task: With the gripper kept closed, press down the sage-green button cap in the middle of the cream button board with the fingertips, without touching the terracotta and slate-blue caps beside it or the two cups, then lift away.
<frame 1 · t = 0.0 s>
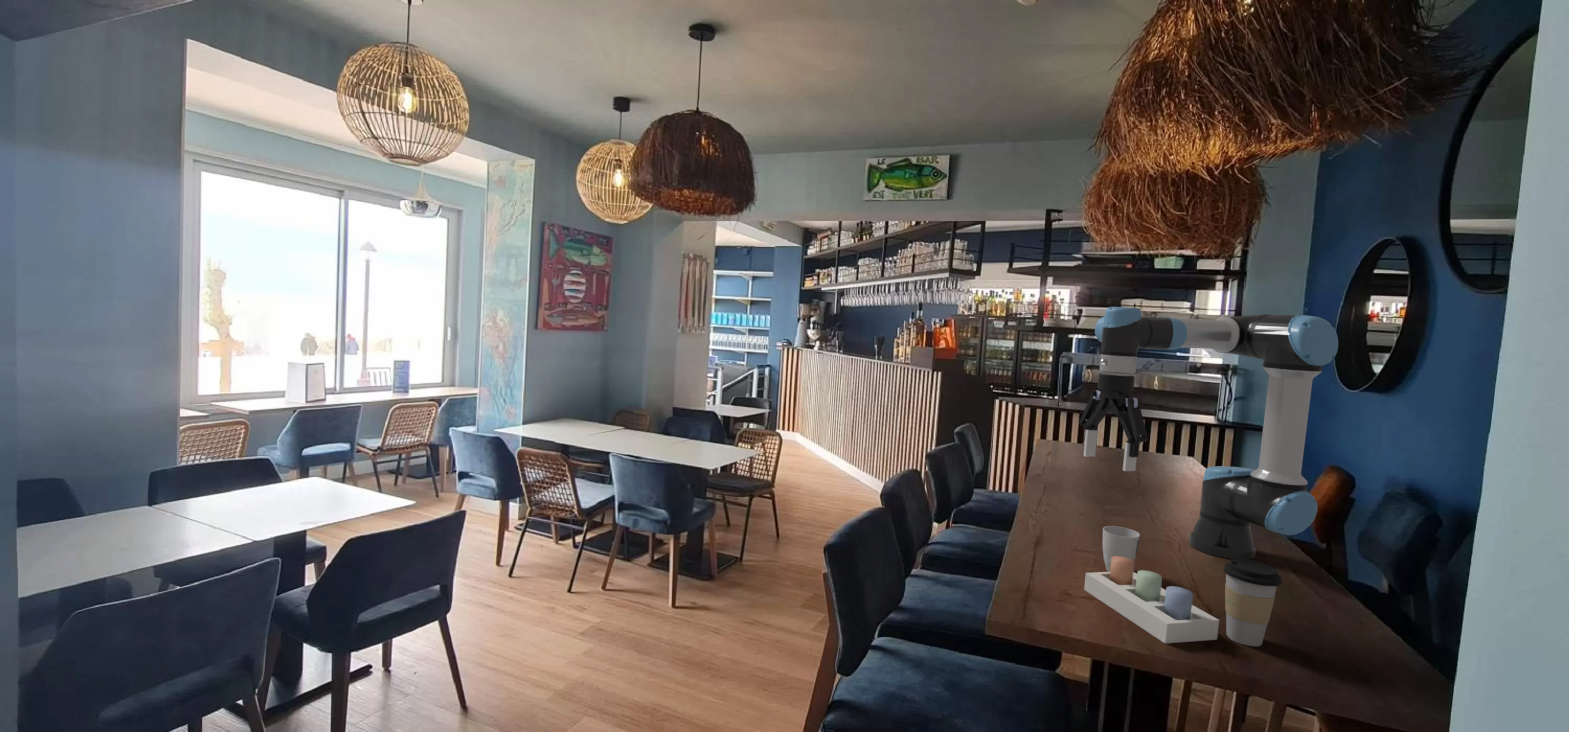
hand: (1108, 463, 156), 28 cm above the table, fingers open, 13 cm apart
slate cap: (1178, 603, 132), point 6 cm above the table, slide at 0.0 cm
coffee cup: (1244, 640, 131), on the table
cup: (1117, 571, 163), on the table
button board: (1145, 612, 141), on the table
terracotta cap: (1121, 570, 148), point 6 cm above the table, slide at 0.0 cm
sage cap: (1148, 585, 140), point 6 cm above the table, slide at 0.0 cm
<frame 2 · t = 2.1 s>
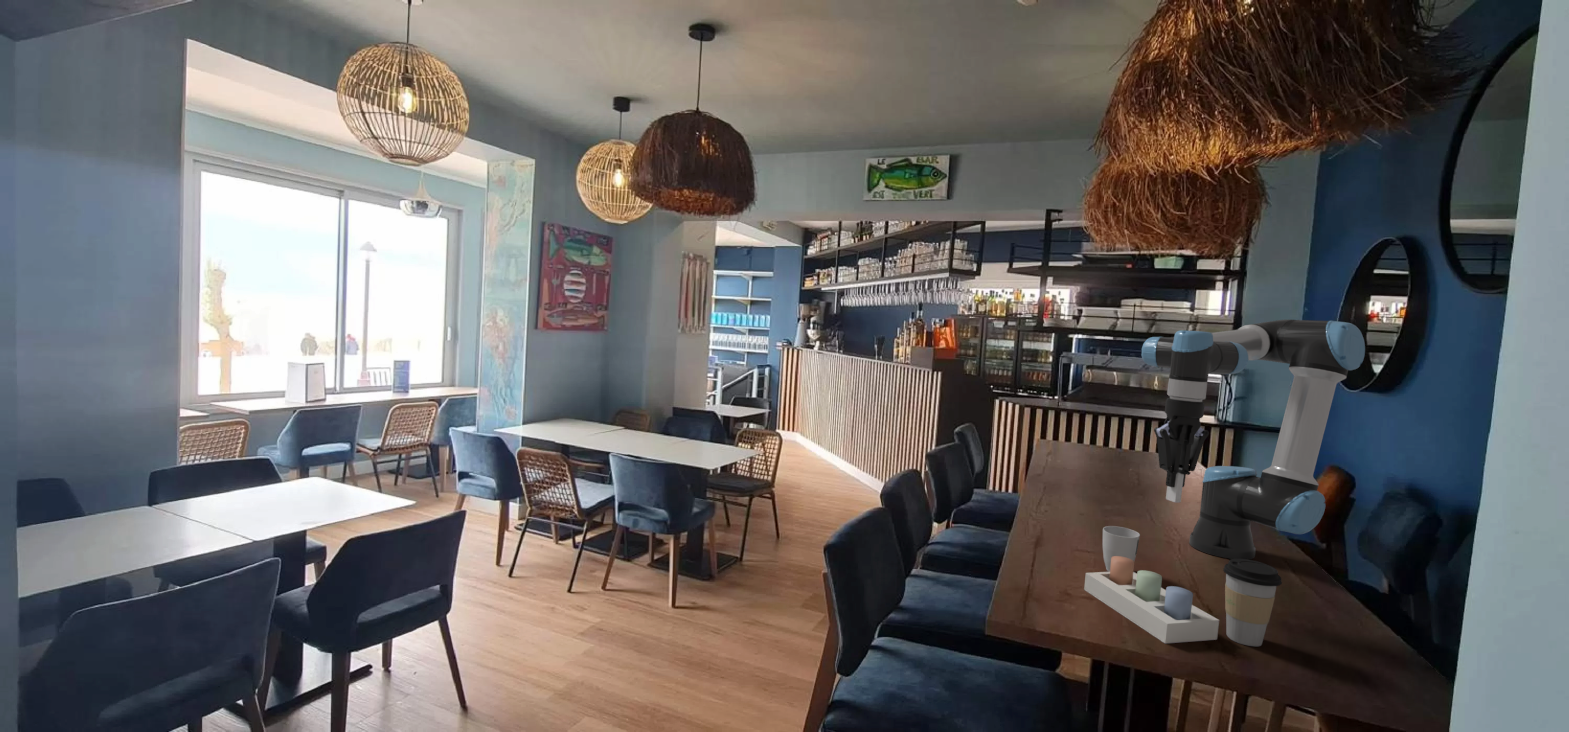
hand: (1173, 500, 151), 21 cm above the table, fingers closed
nothing on the table moved.
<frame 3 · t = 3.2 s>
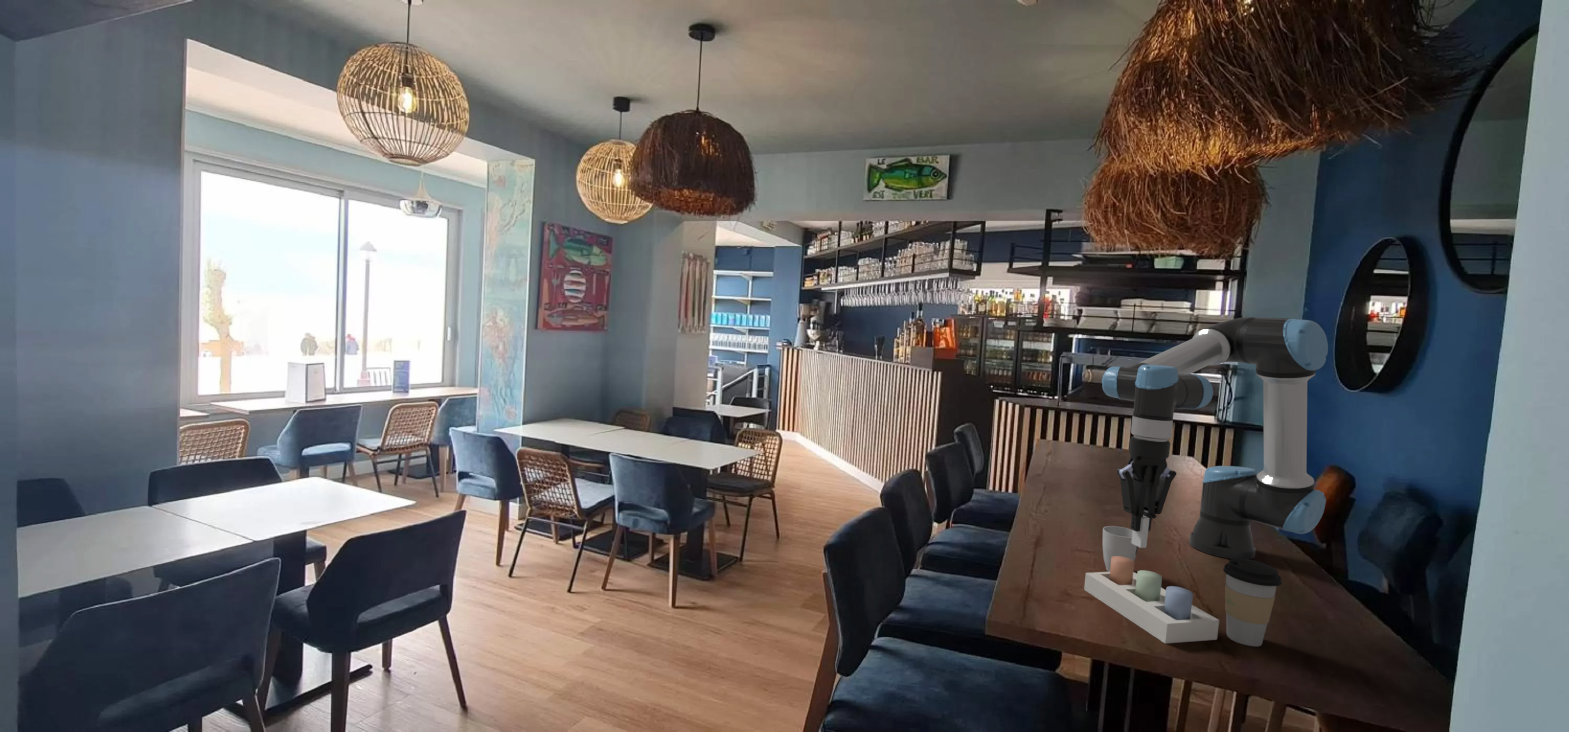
hand: (1138, 545, 142), 14 cm above the table, fingers closed
nothing on the table moved.
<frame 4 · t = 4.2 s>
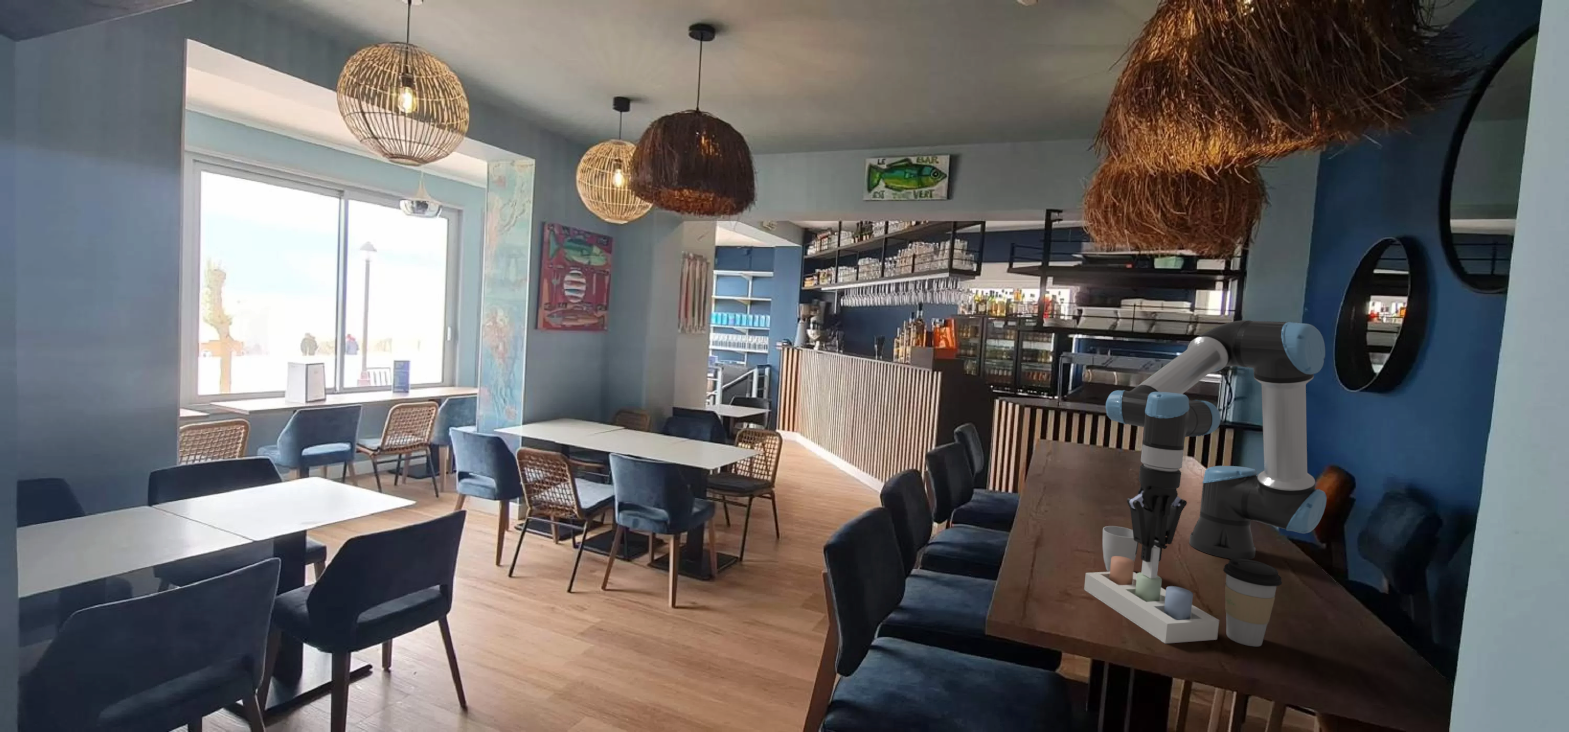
hand: (1149, 575, 140), 8 cm above the table, fingers closed
sage cap: (1148, 588, 140), point 5 cm above the table, slide at 0.5 cm, touching gripper
everything else where it was.
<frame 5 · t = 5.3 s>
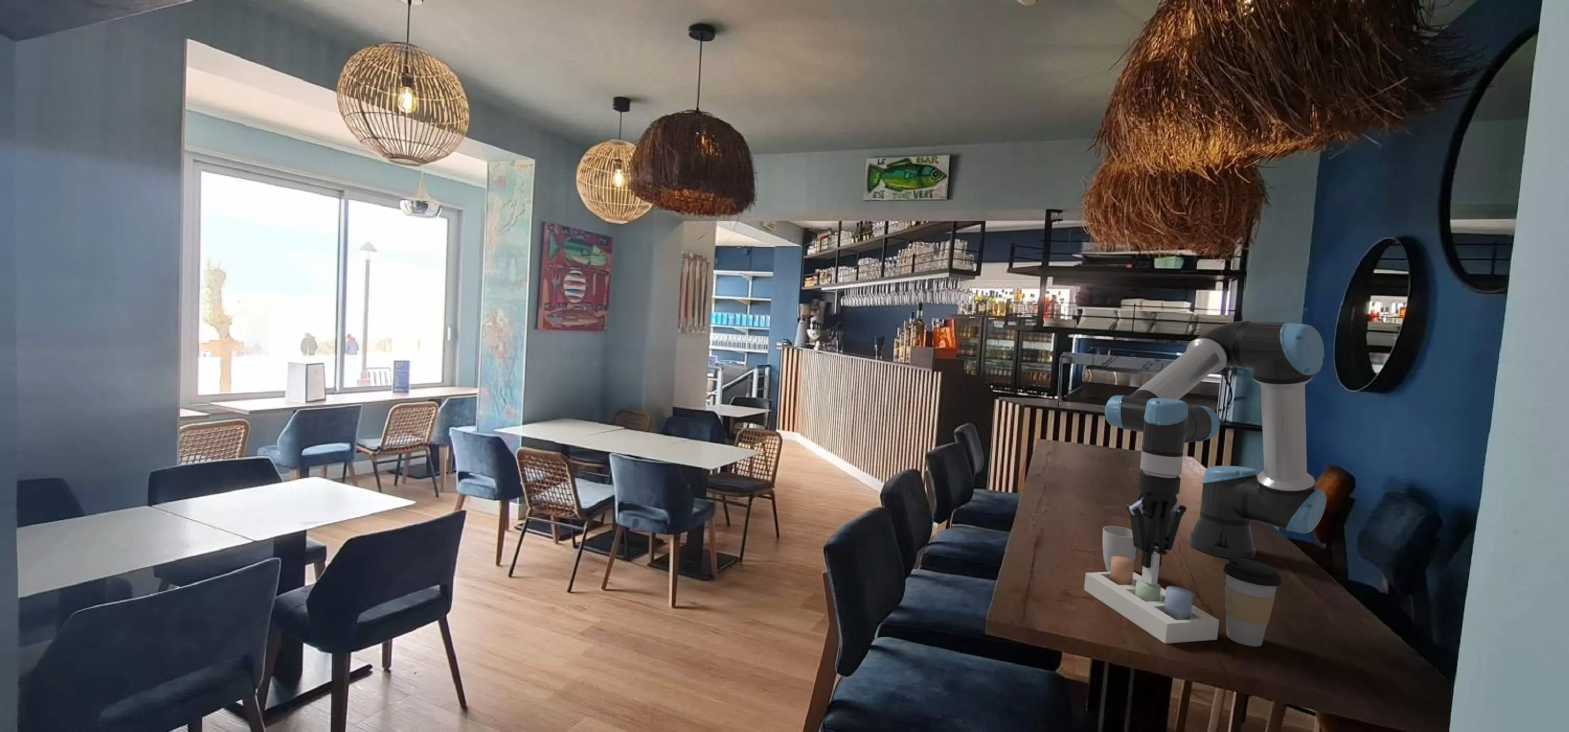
hand: (1149, 581, 140), 7 cm above the table, fingers closed
sage cap: (1147, 595, 140), point 4 cm above the table, slide at 2.1 cm
everything else where it was.
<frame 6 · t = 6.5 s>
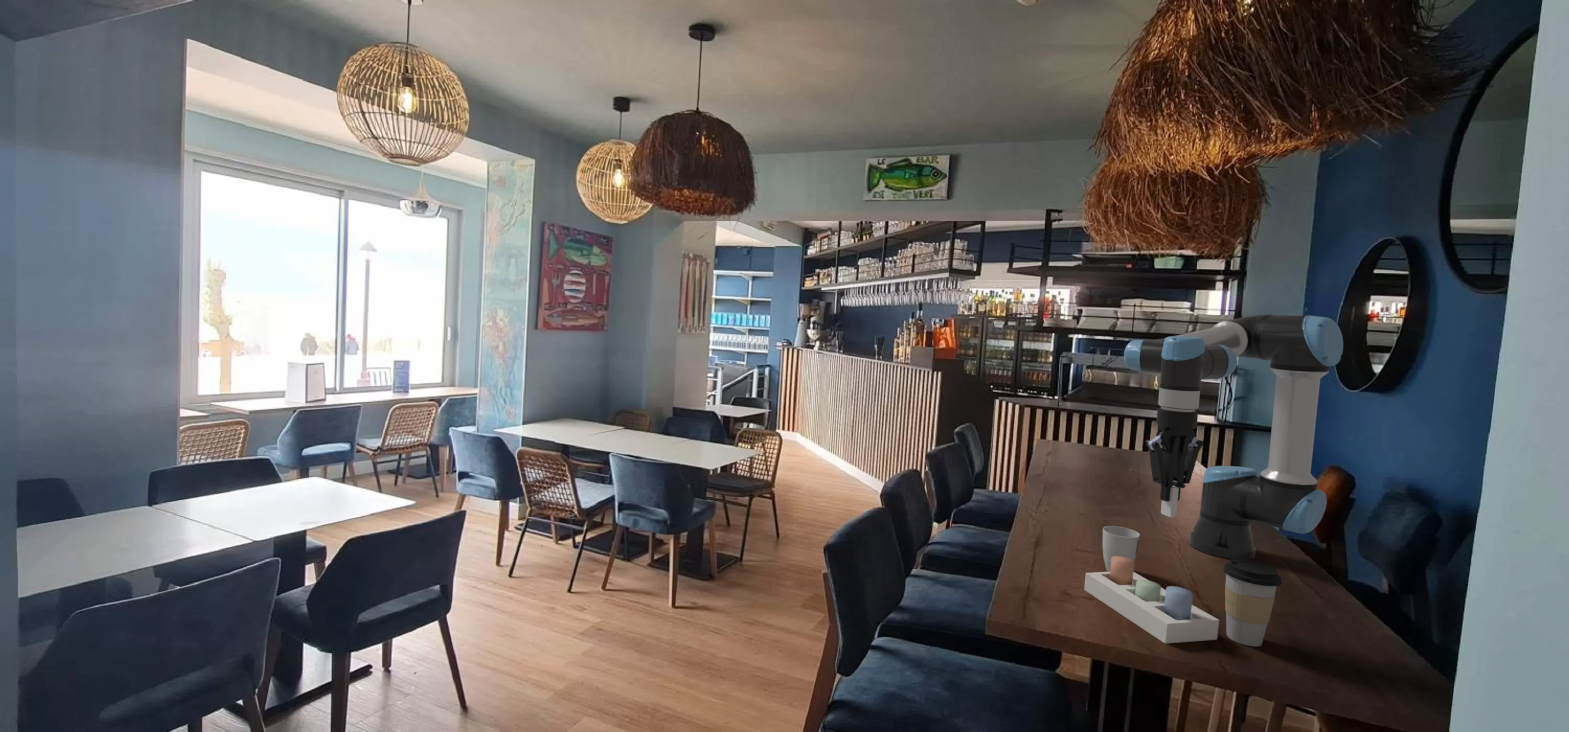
hand: (1168, 514, 144), 20 cm above the table, fingers closed
nothing on the table moved.
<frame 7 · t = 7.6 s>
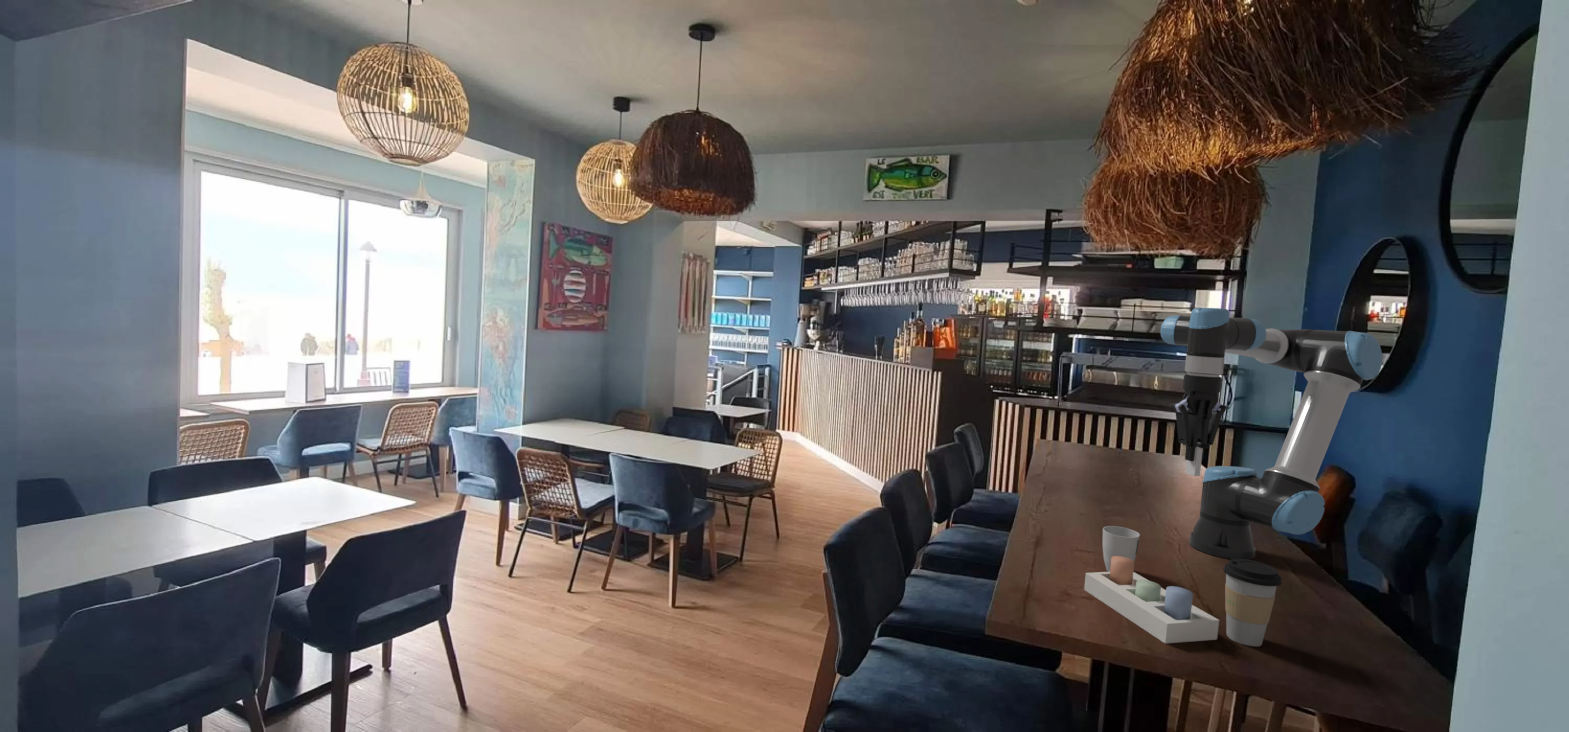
hand: (1192, 474, 155), 26 cm above the table, fingers closed
nothing on the table moved.
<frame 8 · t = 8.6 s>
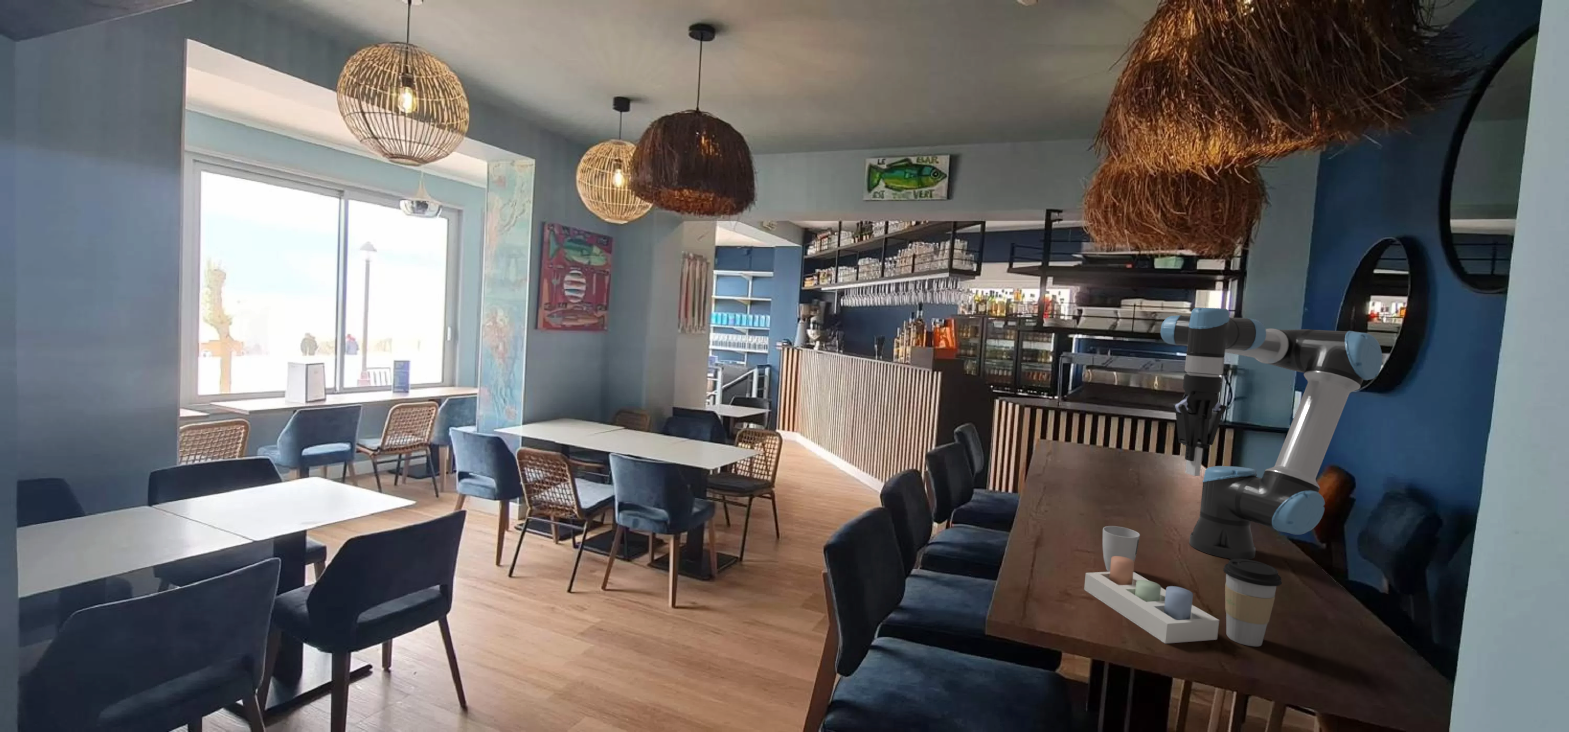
hand: (1192, 474, 155), 26 cm above the table, fingers closed
nothing on the table moved.
at the end: sage cap slide at 2.1 cm; terracotta cap slide at 0.0 cm; slate cap slide at 0.0 cm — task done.
